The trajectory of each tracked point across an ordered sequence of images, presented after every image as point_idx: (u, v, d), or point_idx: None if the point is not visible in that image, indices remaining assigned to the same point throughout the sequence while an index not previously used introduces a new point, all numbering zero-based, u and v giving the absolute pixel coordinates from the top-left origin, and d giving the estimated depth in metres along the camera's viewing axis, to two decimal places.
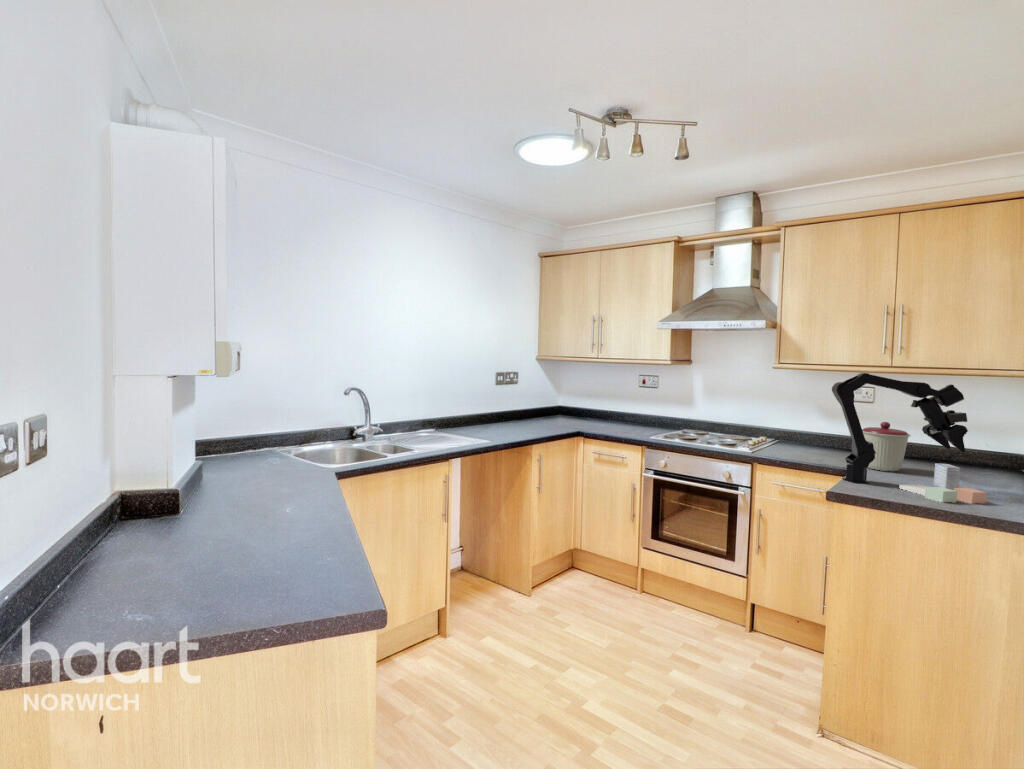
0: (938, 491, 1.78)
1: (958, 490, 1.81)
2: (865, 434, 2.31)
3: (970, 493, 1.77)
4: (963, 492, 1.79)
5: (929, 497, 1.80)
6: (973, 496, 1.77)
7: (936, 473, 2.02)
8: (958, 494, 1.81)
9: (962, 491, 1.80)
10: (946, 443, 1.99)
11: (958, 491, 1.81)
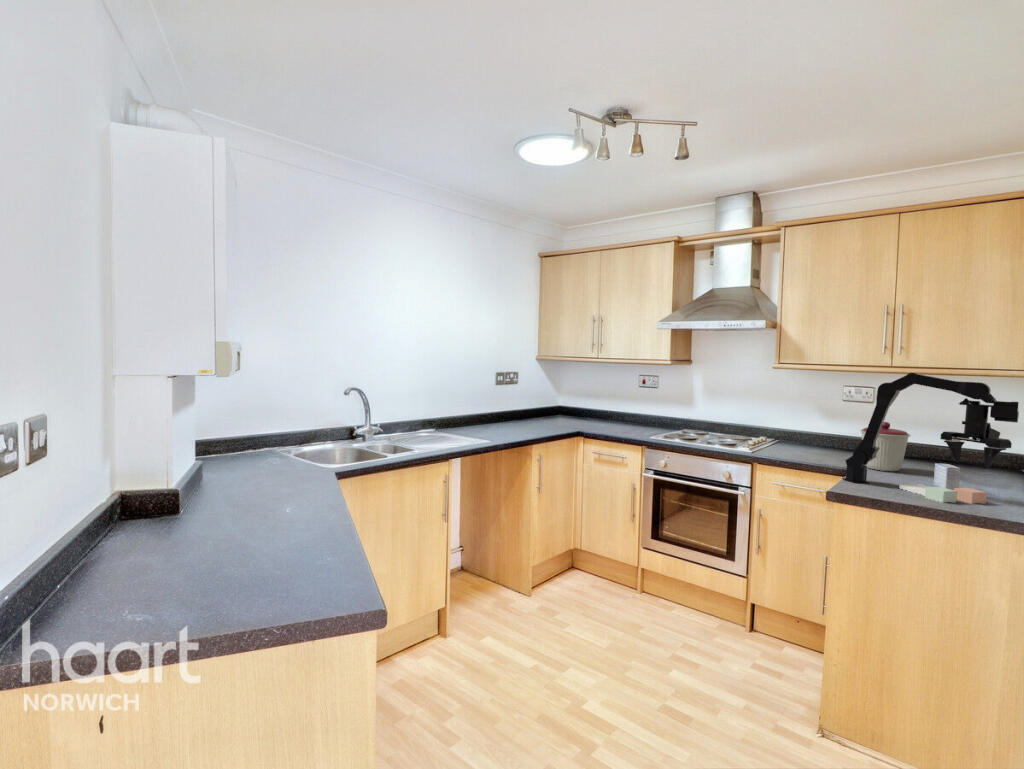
0: (938, 491, 1.78)
1: (958, 490, 1.81)
2: None
3: (970, 493, 1.77)
4: (963, 492, 1.79)
5: (929, 497, 1.80)
6: (973, 496, 1.77)
7: (936, 473, 2.02)
8: (958, 494, 1.81)
9: (962, 491, 1.80)
10: (959, 455, 1.84)
11: (958, 491, 1.81)
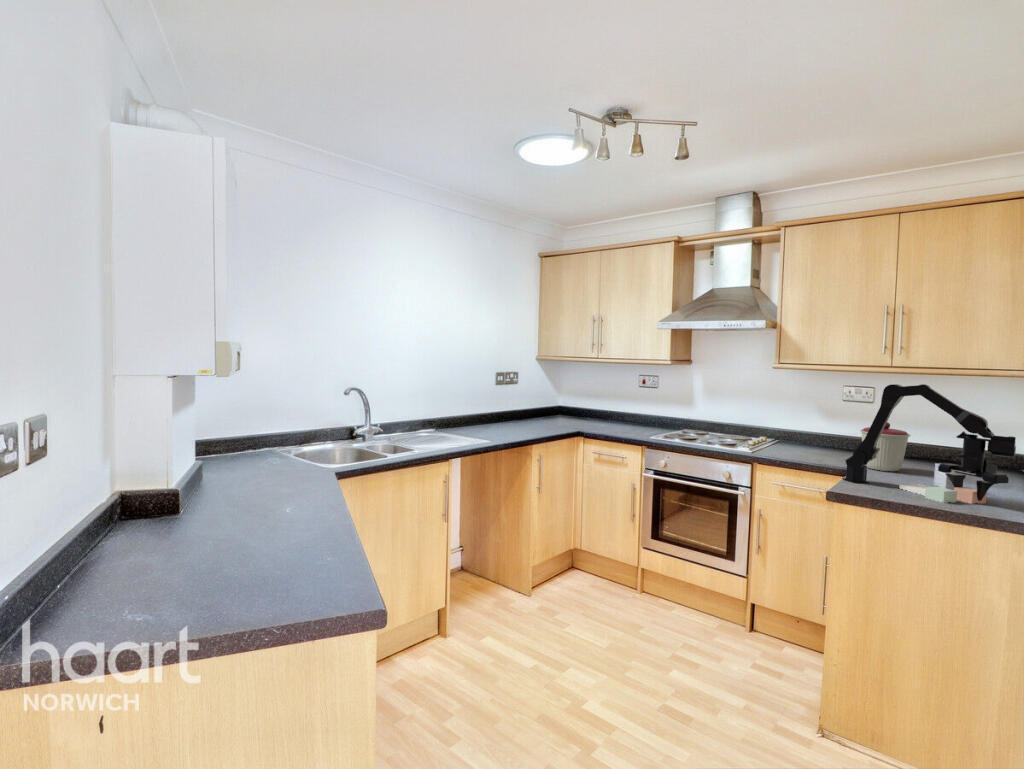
0: (939, 491, 1.77)
1: (958, 489, 1.81)
2: (865, 434, 2.31)
3: (970, 492, 1.77)
4: (963, 491, 1.79)
5: (929, 497, 1.80)
6: (973, 496, 1.77)
7: (936, 473, 2.02)
8: (958, 493, 1.81)
9: (962, 490, 1.80)
10: None
11: (958, 490, 1.81)
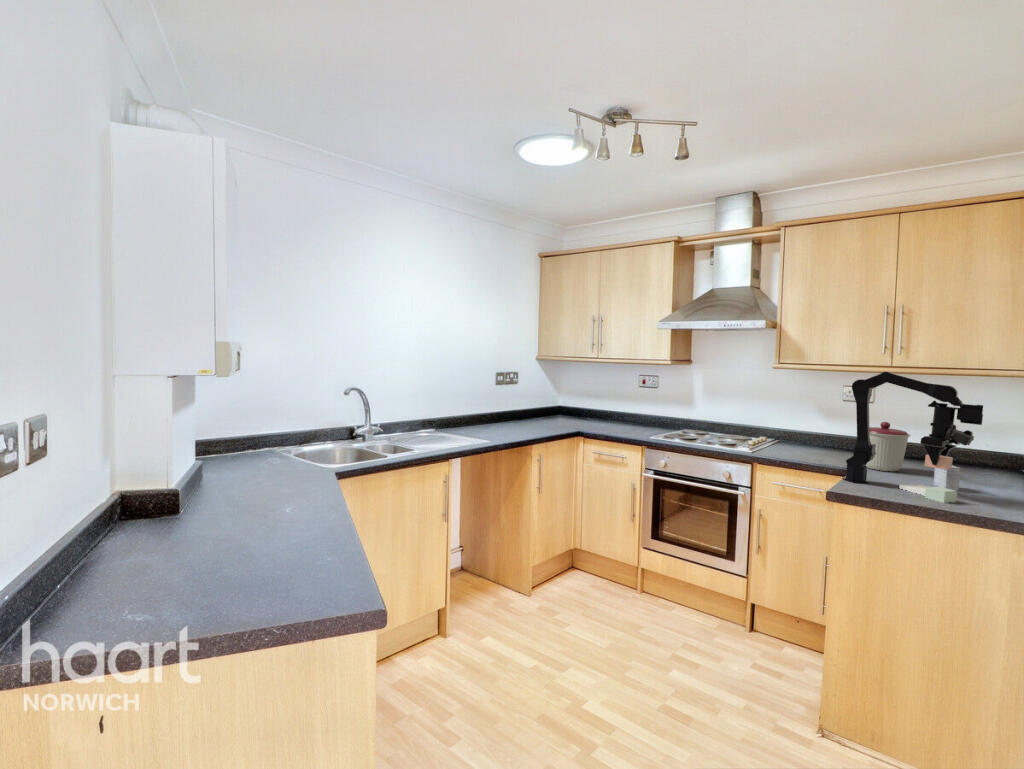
0: (939, 491, 1.77)
1: None
2: None
3: None
4: None
5: (929, 497, 1.80)
6: (927, 459, 1.87)
7: (936, 473, 2.02)
8: None
9: None
10: None
11: None
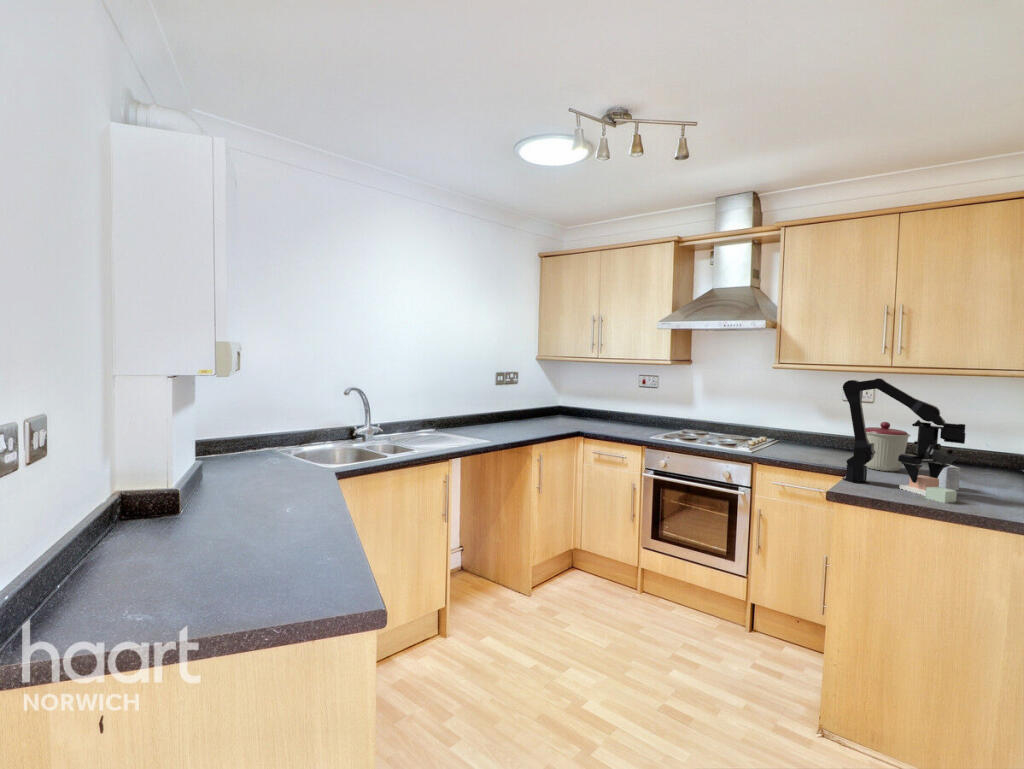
0: (940, 491, 1.77)
1: None
2: None
3: None
4: None
5: (930, 497, 1.80)
6: (910, 479, 1.92)
7: None
8: None
9: None
10: (933, 476, 1.91)
11: None
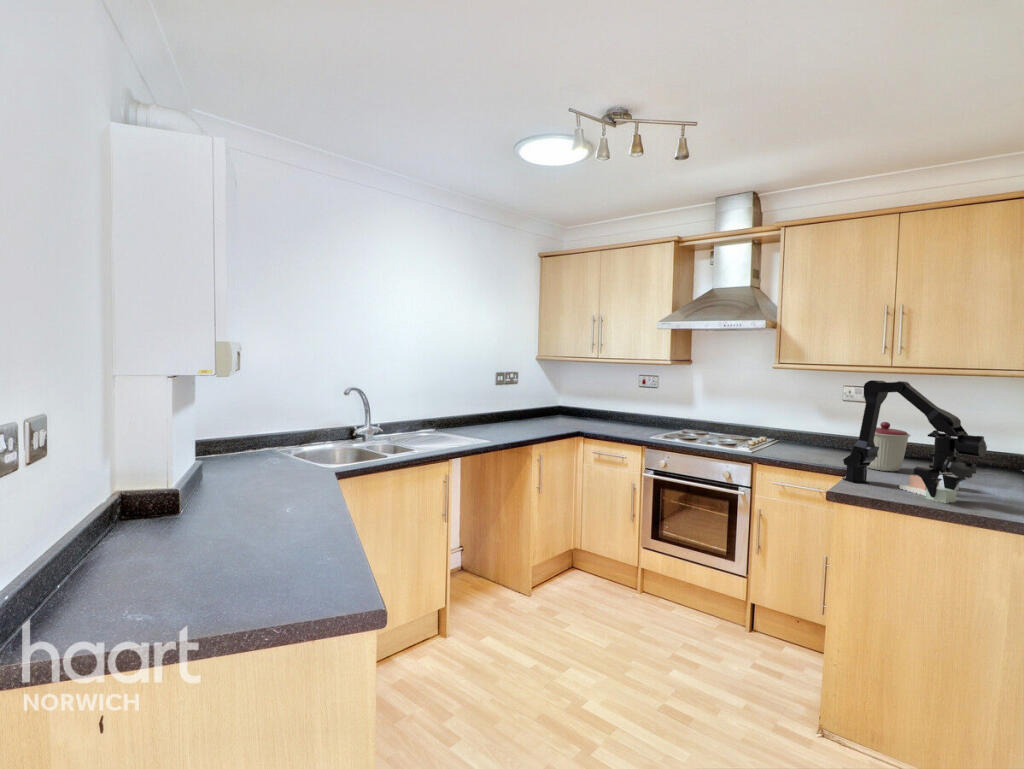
0: (940, 491, 1.77)
1: None
2: None
3: None
4: None
5: (930, 497, 1.80)
6: (910, 479, 1.92)
7: None
8: None
9: None
10: None
11: None
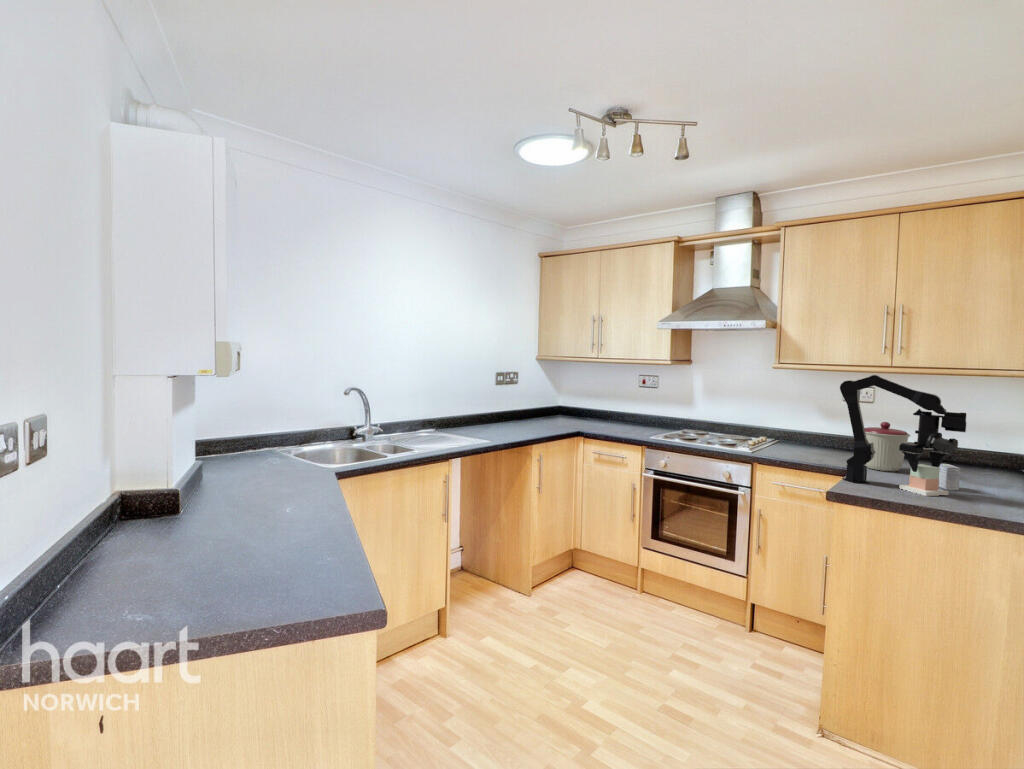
0: (923, 468, 1.88)
1: None
2: None
3: None
4: None
5: (914, 474, 1.91)
6: (910, 479, 1.92)
7: None
8: None
9: None
10: (935, 465, 1.91)
11: None
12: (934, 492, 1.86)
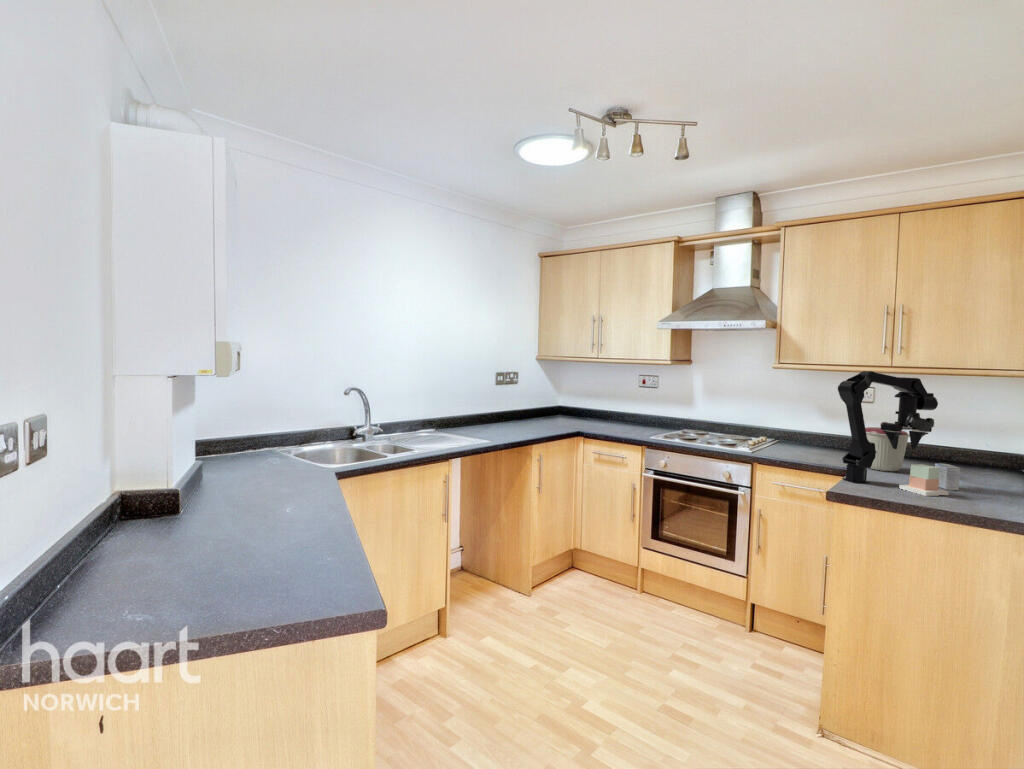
0: (923, 468, 1.88)
1: None
2: None
3: None
4: None
5: (914, 474, 1.91)
6: (910, 479, 1.92)
7: None
8: None
9: None
10: (914, 443, 2.07)
11: None
12: (934, 492, 1.86)
